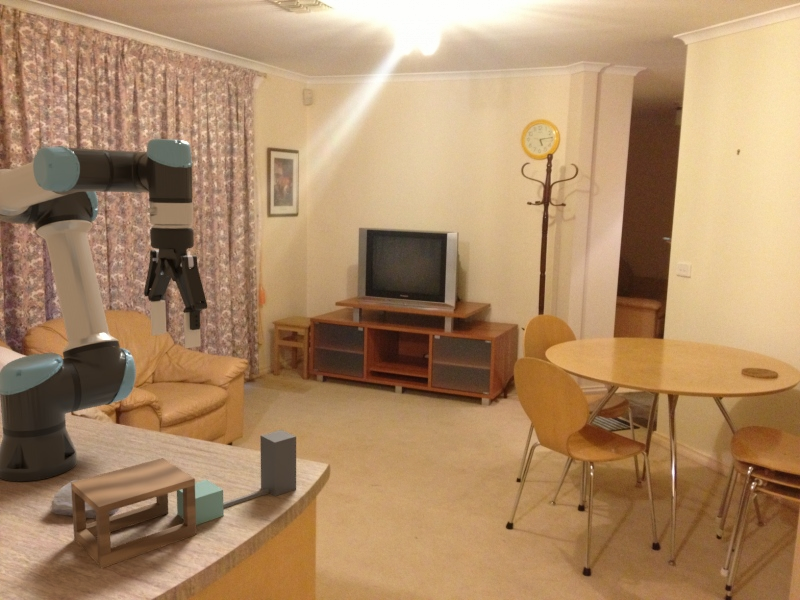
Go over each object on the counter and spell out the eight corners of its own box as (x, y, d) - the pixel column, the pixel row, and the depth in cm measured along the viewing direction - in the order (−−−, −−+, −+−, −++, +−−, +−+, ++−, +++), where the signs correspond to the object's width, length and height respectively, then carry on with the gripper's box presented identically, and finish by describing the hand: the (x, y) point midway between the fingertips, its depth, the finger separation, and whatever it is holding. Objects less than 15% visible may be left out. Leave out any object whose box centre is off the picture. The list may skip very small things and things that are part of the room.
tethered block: (177, 514, 126) (175, 457, 124) (280, 480, 141) (280, 429, 140) (193, 526, 122) (191, 467, 120) (297, 489, 137) (297, 437, 135)
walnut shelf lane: (74, 539, 116) (71, 482, 115) (164, 510, 127) (162, 457, 126) (102, 568, 108) (98, 506, 106) (196, 534, 119) (194, 478, 117)
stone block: (115, 527, 125) (130, 493, 134) (111, 505, 123) (127, 472, 132) (46, 530, 124) (67, 496, 133) (42, 508, 122) (63, 475, 131)
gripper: (123, 223, 131) (127, 332, 135) (185, 231, 114) (188, 356, 117) (160, 222, 137) (164, 327, 140) (225, 229, 119) (227, 349, 122)
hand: (175, 340), depth 129 cm, fingers open, 13 cm apart
